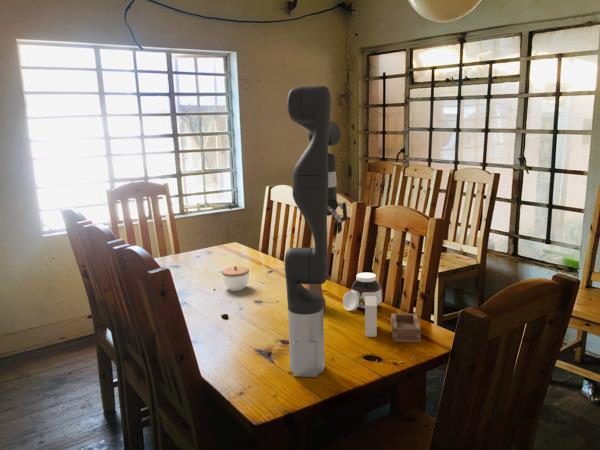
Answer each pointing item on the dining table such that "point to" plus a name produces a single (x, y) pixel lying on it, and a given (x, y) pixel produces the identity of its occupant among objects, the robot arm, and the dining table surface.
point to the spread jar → (362, 291)
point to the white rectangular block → (370, 316)
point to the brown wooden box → (405, 328)
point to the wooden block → (317, 289)
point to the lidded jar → (235, 277)
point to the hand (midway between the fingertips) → (326, 233)
